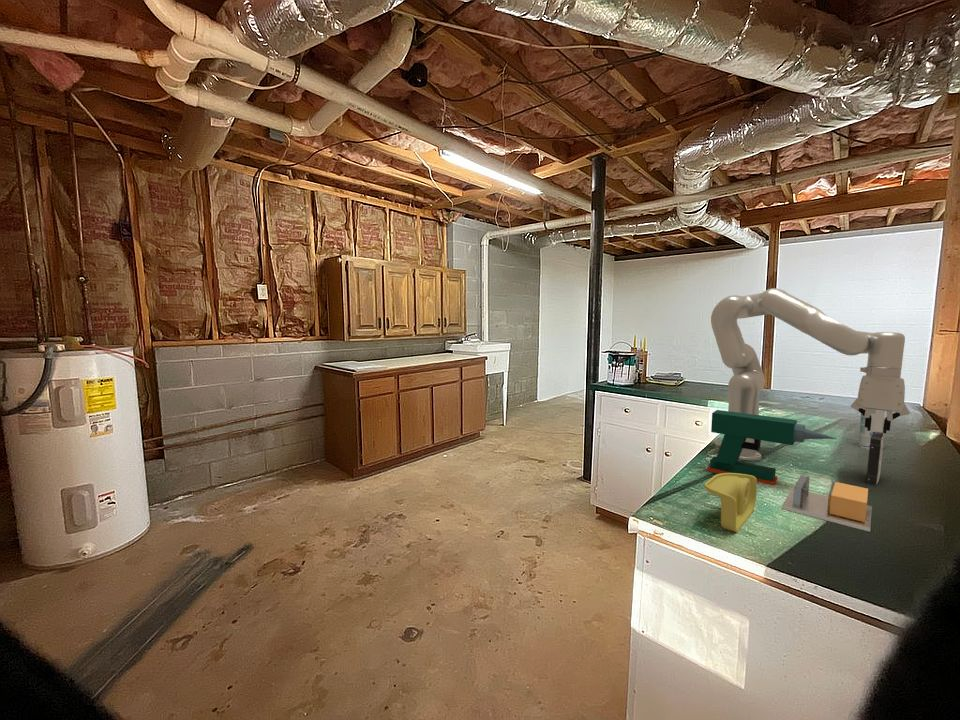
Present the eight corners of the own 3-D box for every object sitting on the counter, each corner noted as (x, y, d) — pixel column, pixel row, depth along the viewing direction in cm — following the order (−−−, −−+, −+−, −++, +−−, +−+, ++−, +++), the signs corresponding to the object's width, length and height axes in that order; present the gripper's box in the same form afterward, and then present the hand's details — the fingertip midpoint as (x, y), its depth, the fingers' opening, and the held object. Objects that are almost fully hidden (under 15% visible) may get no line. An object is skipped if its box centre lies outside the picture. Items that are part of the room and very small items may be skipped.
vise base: (781, 509, 108) (783, 487, 108) (791, 491, 119) (793, 471, 119) (870, 532, 96) (872, 507, 96) (871, 510, 108) (873, 487, 107)
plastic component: (735, 535, 95) (736, 494, 94) (700, 525, 100) (701, 485, 100) (756, 508, 109) (757, 472, 108) (725, 500, 114) (725, 466, 113)
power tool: (833, 491, 120) (839, 425, 118) (832, 499, 115) (838, 429, 113) (712, 465, 141) (715, 409, 140) (707, 471, 136) (710, 412, 134)
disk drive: (878, 486, 123) (882, 439, 122) (865, 484, 125) (869, 437, 124) (880, 477, 130) (884, 432, 129) (868, 475, 132) (872, 430, 131)
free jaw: (827, 512, 103) (828, 494, 103) (831, 498, 112) (833, 481, 111) (865, 522, 98) (866, 503, 98) (866, 506, 107) (868, 488, 106)
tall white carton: (885, 450, 157) (890, 399, 155) (868, 450, 157) (873, 399, 155) (869, 445, 164) (874, 396, 162) (853, 445, 164) (857, 396, 162)
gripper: (846, 371, 127) (840, 428, 129) (923, 376, 116) (915, 439, 118) (848, 369, 132) (842, 424, 134) (921, 374, 121) (914, 434, 123)
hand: (876, 430), depth 126 cm, fingers open, 3 cm apart
